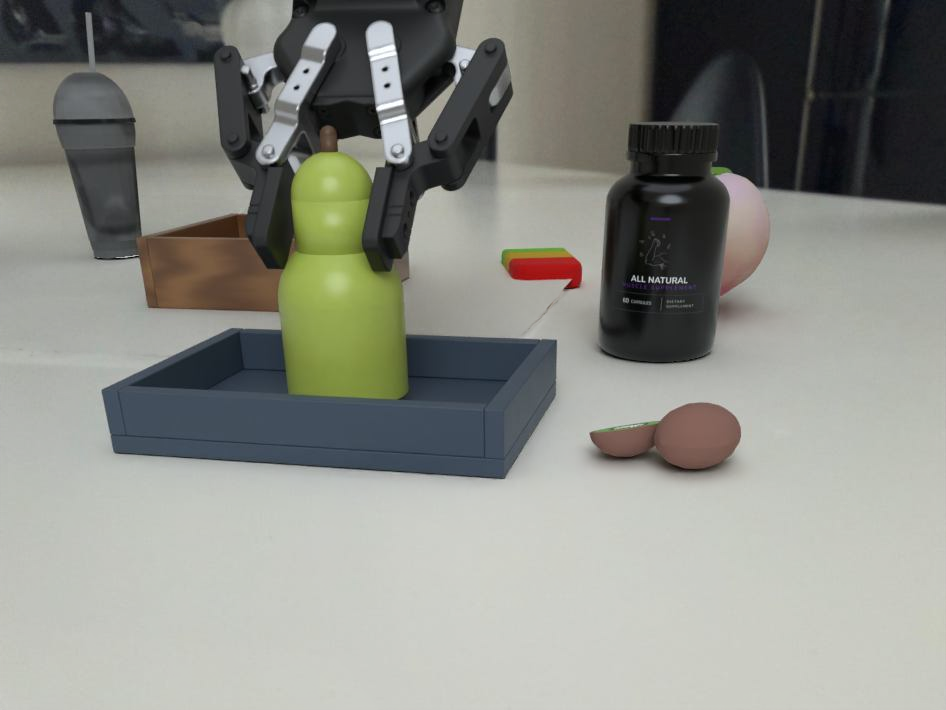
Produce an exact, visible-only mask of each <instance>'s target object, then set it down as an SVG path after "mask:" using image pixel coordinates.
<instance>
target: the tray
mask: <svg viewBox="0 0 946 710" xmlns="http://www.w3.org/2000/svg"><path fill="white" fill-rule="evenodd" d="M406 347H407V367H408V387H409V390H408V393H407V394H406V395H405V396H403V397H402V398H400V399H398V400H396V399H376V398H356V397H336V396H316V395H297V394H288V386H287V377H286V367H285V358H284V349H283V340H282V331H281V329H271V328H270V329H269V328H268V329H267V328H243V327H231V328H228V329H226V330H224V331H222V332H220V333H218V334H216V335H213V336H211V337H209V338H207V339H205V340H203V341H201V342H199V343H197V344H195V345H193V346H190V347H188V348H186V349H184V350H182V351H180V352H178V353H175V354H173V355H171V356H169V357H167V358H164V359H163V360H161V361H159V362H157V363H155V364H153V365H150V366H148V367H147V368H143V369H141V370H139V371H138V372H136V373H134V374H131V375H129V376H127V377H125V378H123V379H121V380H119V381H117V382H114V383H112V384H110V385H108V386H106V387H104V388H102V389H101V395H102V401H103V406H104V411H105V415H106V420H107V421H106V422H107V426H108V430H109V434H110V441H111V446H112V451H113V453H117V454H118V453H120V454H133V455H148V456H149V455H150V456H163V457H164V456H165V457H179V458H195V459H211V460H223V461H239V462H255V463H269V464H284V465H285V464H286V465H299V466H314V467H315V466H317V467H330V468H344V469H345V468H347V469H360V470H361V469H362V470H374V471H375V470H376V471H391V472H404V473H405V472H406V473H421V474H434V475H438V474H439V475H452V476H464V477H465V476H466V477H480V478H494V479H495V478H496V479H504V478H505V477H506V475H507V474H508V472H509V471H510V469H511V468H512V466H513V464H514V463H515V461H516V460H517V458H518V456H519V455H520V453H521V451H522V450H523V448H524V447H525V445H526V443H527V441H528V440H529V438H531V436H532V434H533V432H534V430H535V429H536V428H537V426H538V424H539V422H540V421H541V419H542V418H543V416H544V414H546V411H547V409H548V408H549V406H550V405H551V404H552V402H553V400H554V398H555V397H556V395H557V362H558V361H557V359H558V358H557V355H558V340H557V339H552V338H551V339H549V338H548V339H547V338H541V339H539V338H517V337H515V338H514V337H491V336H490V337H489V336H464V335H463V336H460V335H458V336H457V335H434V334H410V333H409V334H408V333H406Z"/></svg>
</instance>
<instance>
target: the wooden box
mask: <svg viewBox="0 0 946 710" xmlns="http://www.w3.org/2000/svg"><path fill="white" fill-rule="evenodd" d="M247 214H248V213H228V214H225V215H224V214H223V215H220V216H217V217H213V218H209V219H205V220H201V221H197V222H193V223H189V224H184V225H181V226H178V227H174V228H173V227H172V228H171V229H165V230H162V231H158V232H154V233H151V234H146V235H142V237H138V238H136V241H137V247H138V252H139V257H138V258H139V264H140V271H141V275H142V282H143V287H144V293H145V299H146V305H147V308H148V309H165V310H166V309H169V310H195V311H196V310H197V311H198V310H200V311H201V310H202V311H203V310H204V311H205V310H206V311H227V312H229V311H231V312H256V313H257V312H259V313H262V312H263V313H279V304H278V287H279V281H280V277H281V274H282V271H283V269H267V268H266V267H265V265H264V263H263V262H262V260H261V258H260V257H259V256H258V254H257V252H256V251H255V249H254V247H253V246H252V244H251V242H250V241H249V239H248V237H247V236H246V232H245V227H244V224H245V220H246V216H247ZM295 251H296V246H295V236H293V240H292V244H291V248H290V253H289V257H288V259H289V258H290V256H291V255H292V254H293V253H294V252H295ZM393 264H394V266H395V268H396V269H397V271H398V274H399V276H400V279H401V283H403V282H405V281H407V280H408V279H411V277H410V253H409V249H408V250H407V251H406V253H405V254H404V256H403V258H402V259H394V261H393Z"/></svg>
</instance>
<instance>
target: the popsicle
mask: <svg viewBox="0 0 946 710" xmlns="http://www.w3.org/2000/svg"><path fill="white" fill-rule="evenodd" d="M501 264H502V265H503V267H504V268H505V270H506V271H507V273H508V274H509V276H510V277H511V278H512V279H514V280H516V281H517V280H518V281H548V280H549V281H552V280H553V281H554V280H570V281H569V282H568V283H567V284H566V285H565V286H564V289H572V288H574V289H575V288H578V287H579V286H580V285H581V284H582V280H583V266H582V263H581V262H580V260H578V259H577V258H576V257H575V256H574V255H573V254H571V253H570V252H569V251H568V250H567V249H565V248H564V247H537V248H536V247H533V248H532V247H531V248H506V249H503V250H502V251H501Z"/></svg>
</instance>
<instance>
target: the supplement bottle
mask: <svg viewBox="0 0 946 710" xmlns="http://www.w3.org/2000/svg"><path fill="white" fill-rule="evenodd" d="M719 134H720V123H715V122H699V121H638V122H637V121H636V122H631V123H629V124H628V136H627V150H626V151H625V160H626V161H629V171H628V172H627V173H626V174H624V175H623V176H621V177H620V178H619V179H617V180H616V181H615V182H614V183H613V184H612V186H611V187H610V188H609V190H608V192H607V194H606V199H605V209H604V222H603V223H604V226H603V241H602V242H603V243H602V245H603V246H602V260H601V275H600V292H599V295H600V296H599V309H598V310H599V311H598V328H597V329H598V333H597V338H598V339H597V341H598V344H599V346H600V348H601V349H602V350H603V351H604V352H606V353H607V354H609V355H611V356H614V357H618V358H621V359H626V360H632V361H640V362H649V363H651V362H652V363H674V361H676V362H685V361H684V360H686V361H691V360H690V359H692V360H696V359H695V358H697V359H700V358H702V357H701V356H703V357H704V355H705V356H707V355H708V354H709V353H710V352H711V350H712V349H713V347H714V344H715V338H716V331H717V323H718V314H719V306H720V297H721V296H720V289H721V281H722V272H723V263H724V254H725V246H726V237H727V228H728V219H729V210H730V196H729V193H728V190H727V188H726V186H725V185H724V184H723V183H722V182H721V181H720V180H719V179H718V178H716V177H715V176H714V175H713V174H712V173H711V169H712V167H713V162H717V161H718V157H719V152H718V144H719ZM699 357H700V358H699ZM682 360H683V361H682Z"/></svg>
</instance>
